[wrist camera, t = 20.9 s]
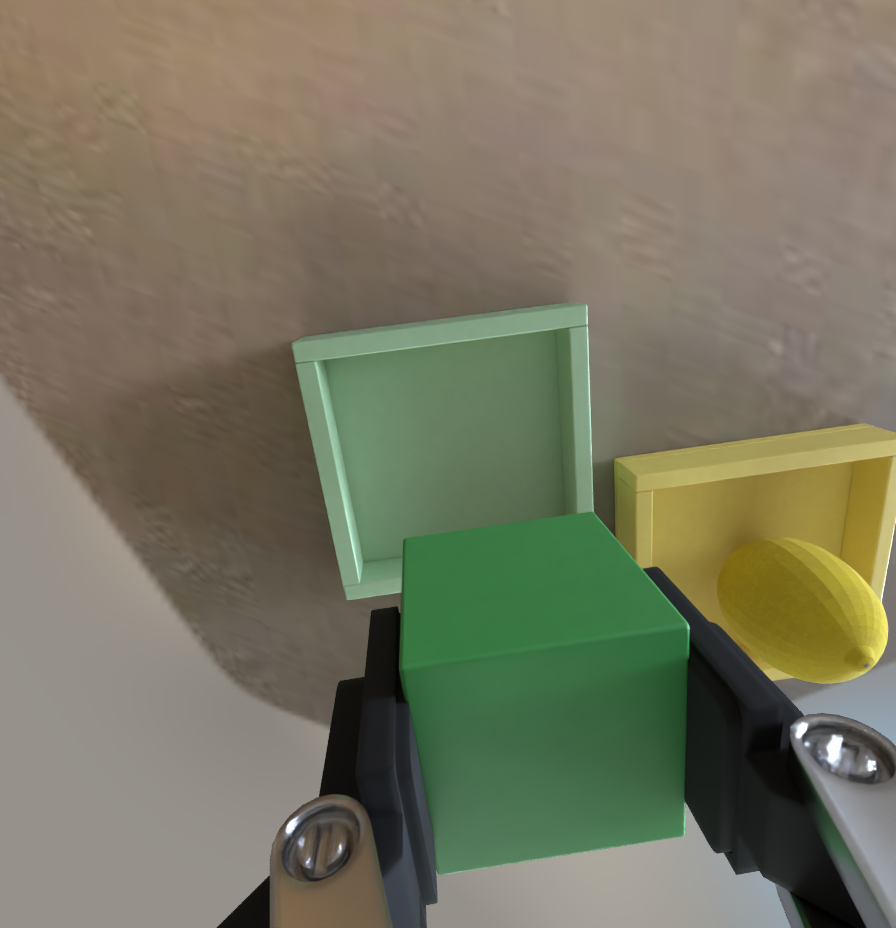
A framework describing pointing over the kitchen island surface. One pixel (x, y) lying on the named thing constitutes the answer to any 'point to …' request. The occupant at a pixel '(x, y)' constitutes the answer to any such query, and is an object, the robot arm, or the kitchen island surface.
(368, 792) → the robot arm
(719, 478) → the yellow tray
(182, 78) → the kitchen island surface
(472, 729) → the green cube
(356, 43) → the kitchen island surface
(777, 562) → the lemon
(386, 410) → the green tray
